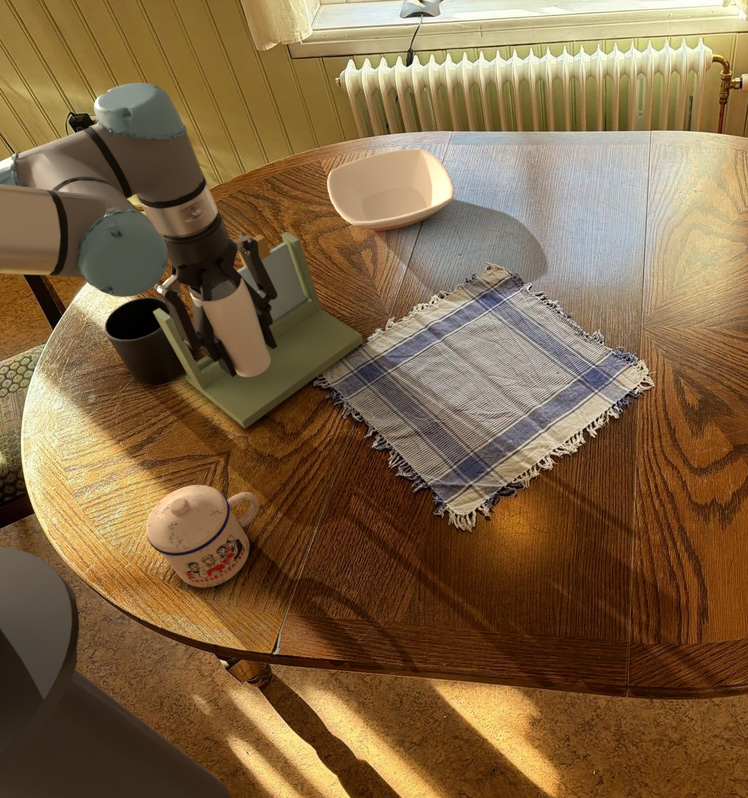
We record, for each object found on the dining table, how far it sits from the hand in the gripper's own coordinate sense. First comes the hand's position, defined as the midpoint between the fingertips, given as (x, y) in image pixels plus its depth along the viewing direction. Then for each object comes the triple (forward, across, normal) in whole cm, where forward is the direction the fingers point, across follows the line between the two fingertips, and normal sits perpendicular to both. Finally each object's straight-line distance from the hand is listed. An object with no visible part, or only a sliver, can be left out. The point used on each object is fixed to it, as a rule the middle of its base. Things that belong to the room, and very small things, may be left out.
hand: (249, 357), depth 105 cm
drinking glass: (+2, 0, 0) cm, 2 cm away
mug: (+6, -7, +17) cm, 19 cm away
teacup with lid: (+6, -20, -19) cm, 28 cm away
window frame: (+6, +4, +2) cm, 8 cm away
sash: (+4, +9, +6) cm, 12 cm away
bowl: (+6, +42, +17) cm, 46 cm away
